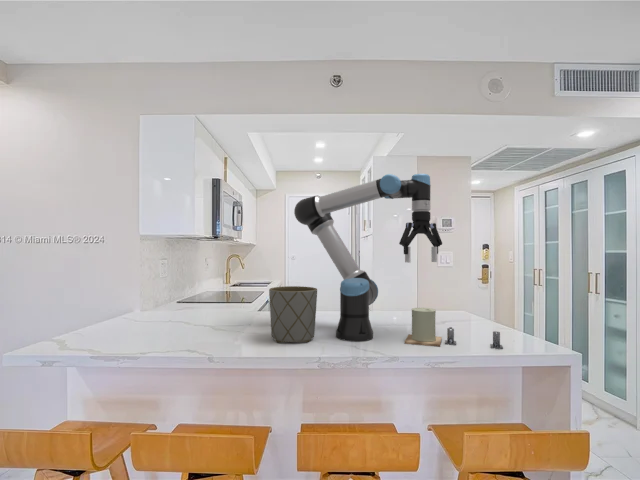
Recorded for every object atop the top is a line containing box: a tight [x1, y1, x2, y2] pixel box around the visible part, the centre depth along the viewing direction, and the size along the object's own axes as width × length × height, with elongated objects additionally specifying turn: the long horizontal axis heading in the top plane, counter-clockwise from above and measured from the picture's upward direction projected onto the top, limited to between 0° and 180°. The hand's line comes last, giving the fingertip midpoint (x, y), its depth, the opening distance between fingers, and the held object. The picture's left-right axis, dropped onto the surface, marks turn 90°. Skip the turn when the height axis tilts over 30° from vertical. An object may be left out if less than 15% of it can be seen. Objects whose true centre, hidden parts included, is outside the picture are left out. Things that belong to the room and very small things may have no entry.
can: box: [411, 307, 436, 342], centre depth 151 cm, size 9×9×12 cm
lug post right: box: [489, 330, 504, 350], centre depth 142 cm, size 4×5×6 cm
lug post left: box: [444, 326, 457, 346], centre depth 148 cm, size 4×5×6 cm
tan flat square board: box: [404, 333, 443, 348], centre depth 151 cm, size 13×13×1 cm
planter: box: [268, 285, 318, 344], centre depth 154 cm, size 19×19×20 cm
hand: (421, 262), depth 161 cm, fingers open, 13 cm apart
